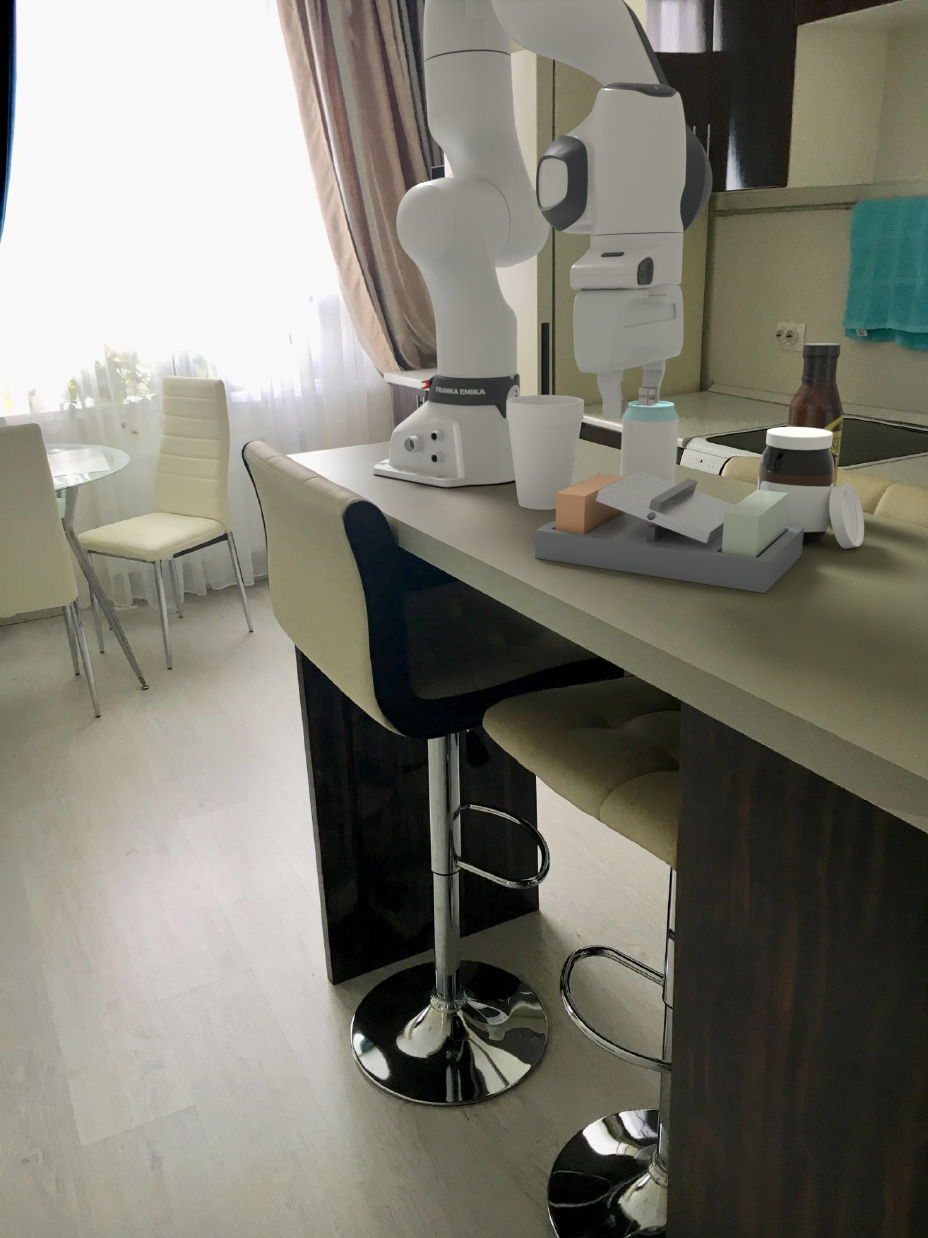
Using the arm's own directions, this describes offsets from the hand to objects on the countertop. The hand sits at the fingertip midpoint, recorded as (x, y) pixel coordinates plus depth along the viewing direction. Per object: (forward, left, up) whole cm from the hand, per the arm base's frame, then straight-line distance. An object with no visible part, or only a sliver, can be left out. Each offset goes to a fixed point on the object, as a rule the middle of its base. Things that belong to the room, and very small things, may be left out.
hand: (631, 410), depth 102 cm
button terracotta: (-4, 0, -12) cm, 13 cm away
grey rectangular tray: (+5, 0, -15) cm, 16 cm away
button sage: (+13, 0, -12) cm, 18 cm away
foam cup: (-17, +15, -15) cm, 27 cm away
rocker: (+5, 0, -9) cm, 10 cm away
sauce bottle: (+13, +26, -15) cm, 33 cm away
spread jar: (+16, +14, -15) cm, 26 cm away
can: (-7, +25, -15) cm, 30 cm away
